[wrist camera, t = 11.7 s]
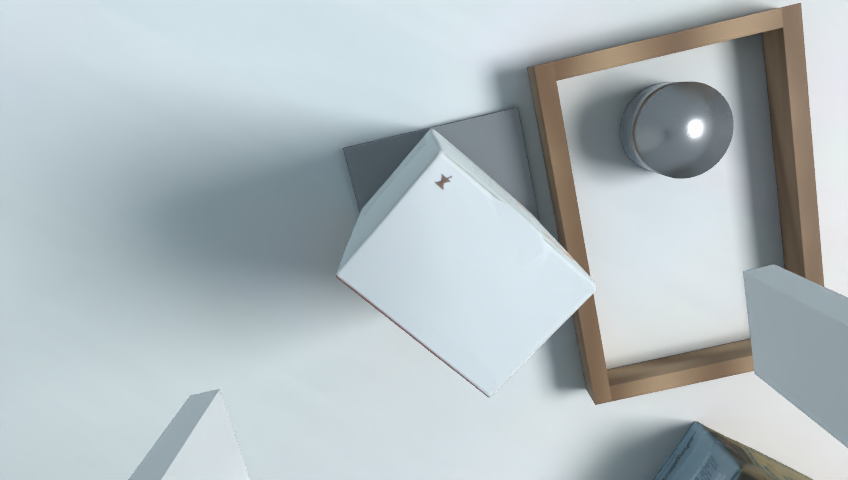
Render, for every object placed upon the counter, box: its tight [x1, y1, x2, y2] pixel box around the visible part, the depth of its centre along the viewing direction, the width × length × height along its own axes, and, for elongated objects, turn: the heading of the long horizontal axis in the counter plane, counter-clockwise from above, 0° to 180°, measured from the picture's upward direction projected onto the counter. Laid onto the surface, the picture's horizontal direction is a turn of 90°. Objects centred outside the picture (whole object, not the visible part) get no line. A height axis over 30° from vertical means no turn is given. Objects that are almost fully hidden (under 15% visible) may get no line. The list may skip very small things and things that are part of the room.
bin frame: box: [527, 3, 824, 405], centre depth 35 cm, size 14×20×2 cm
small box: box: [336, 128, 597, 397], centre depth 29 cm, size 8×6×13 cm
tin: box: [620, 82, 733, 178], centre depth 34 cm, size 5×5×3 cm
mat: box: [343, 108, 539, 221], centre depth 36 cm, size 10×10×1 cm
